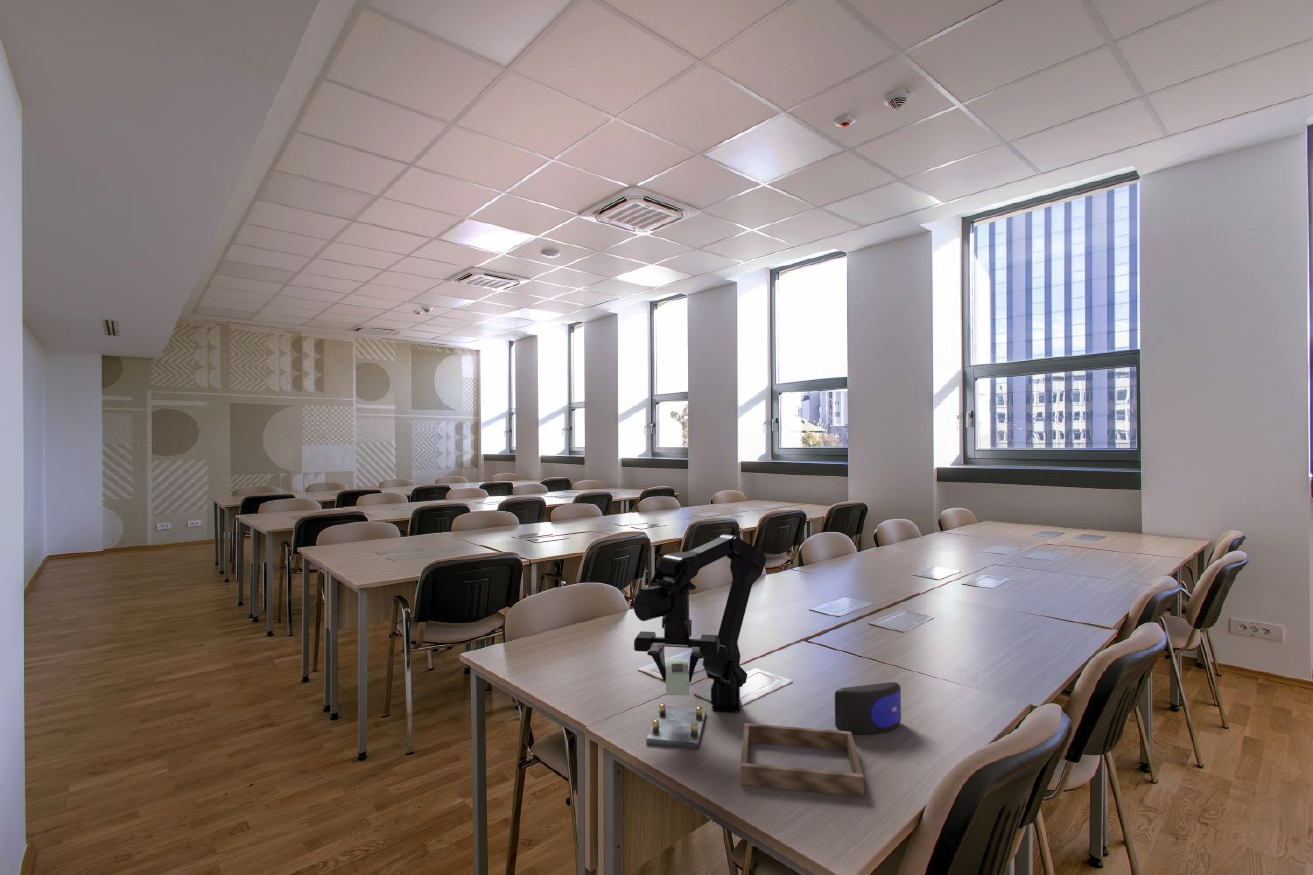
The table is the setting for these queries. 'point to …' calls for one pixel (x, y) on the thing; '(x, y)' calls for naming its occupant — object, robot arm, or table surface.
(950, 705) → the table surface
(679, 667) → the pale green block
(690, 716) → the chassis
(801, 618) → the table surface
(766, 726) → the storage tray
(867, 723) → the black and blue case
